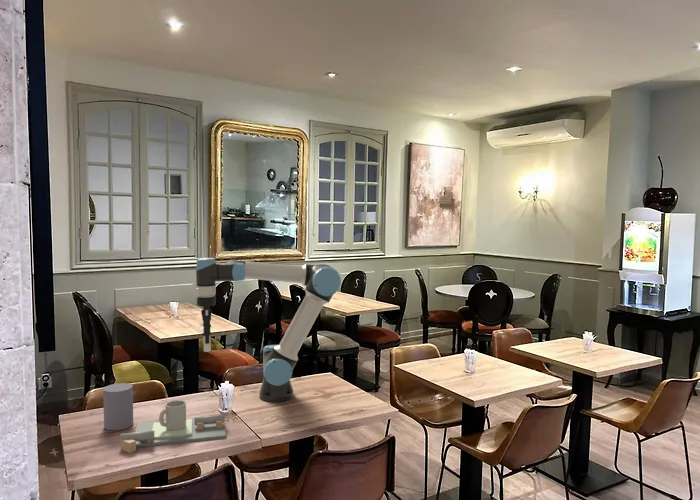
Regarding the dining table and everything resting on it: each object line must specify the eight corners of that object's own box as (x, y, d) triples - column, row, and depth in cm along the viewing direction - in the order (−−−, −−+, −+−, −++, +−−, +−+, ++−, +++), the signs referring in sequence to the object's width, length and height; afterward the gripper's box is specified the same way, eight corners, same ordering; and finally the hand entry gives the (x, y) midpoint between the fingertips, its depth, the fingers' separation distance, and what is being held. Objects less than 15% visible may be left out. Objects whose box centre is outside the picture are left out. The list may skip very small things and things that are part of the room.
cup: (189, 427, 199) (189, 403, 199) (163, 434, 193) (163, 410, 192) (180, 421, 205) (180, 398, 204) (155, 428, 198) (154, 405, 197)
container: (103, 432, 198) (102, 393, 197) (104, 422, 208) (103, 385, 207) (133, 428, 202) (133, 389, 201) (133, 419, 212) (132, 381, 211)
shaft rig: (223, 417, 214) (223, 405, 213) (226, 442, 190) (226, 429, 190) (127, 426, 204) (127, 413, 204) (118, 454, 181) (118, 439, 180)
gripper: (196, 291, 229) (197, 340, 230) (196, 301, 205) (197, 355, 207) (214, 291, 231) (215, 339, 233) (216, 300, 207) (217, 354, 209)
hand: (206, 347), depth 220 cm, fingers open, 13 cm apart
